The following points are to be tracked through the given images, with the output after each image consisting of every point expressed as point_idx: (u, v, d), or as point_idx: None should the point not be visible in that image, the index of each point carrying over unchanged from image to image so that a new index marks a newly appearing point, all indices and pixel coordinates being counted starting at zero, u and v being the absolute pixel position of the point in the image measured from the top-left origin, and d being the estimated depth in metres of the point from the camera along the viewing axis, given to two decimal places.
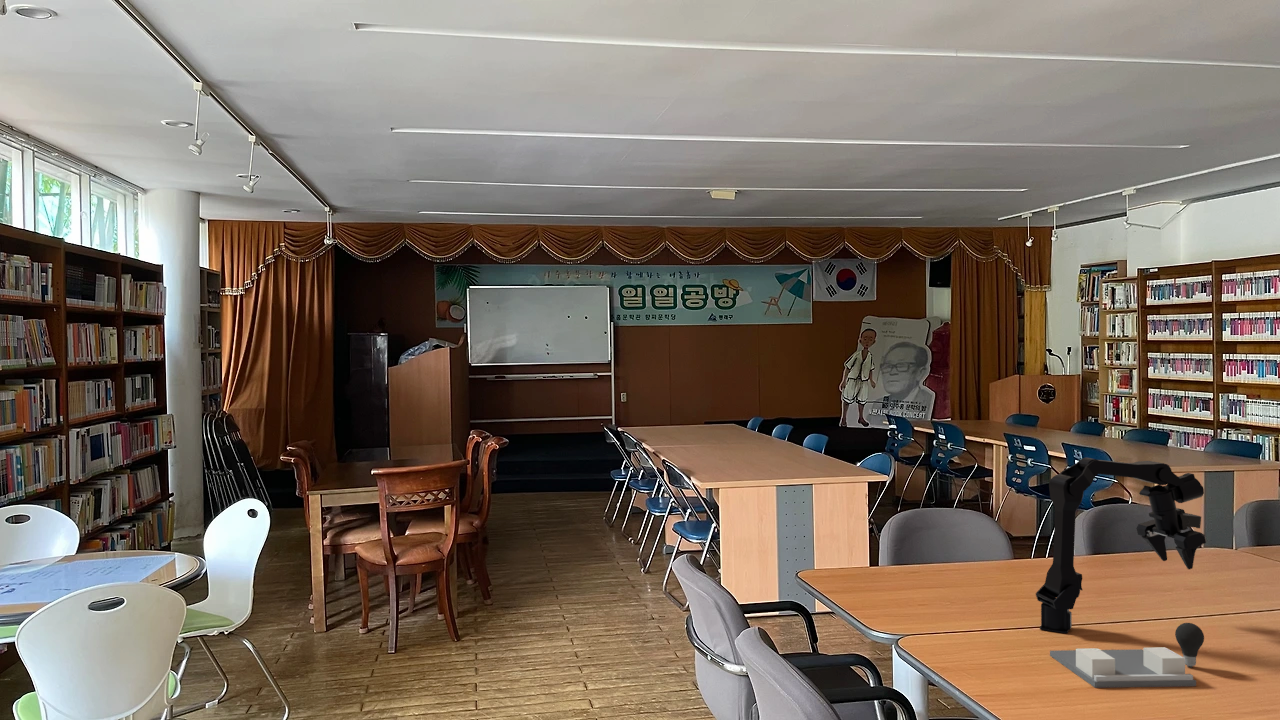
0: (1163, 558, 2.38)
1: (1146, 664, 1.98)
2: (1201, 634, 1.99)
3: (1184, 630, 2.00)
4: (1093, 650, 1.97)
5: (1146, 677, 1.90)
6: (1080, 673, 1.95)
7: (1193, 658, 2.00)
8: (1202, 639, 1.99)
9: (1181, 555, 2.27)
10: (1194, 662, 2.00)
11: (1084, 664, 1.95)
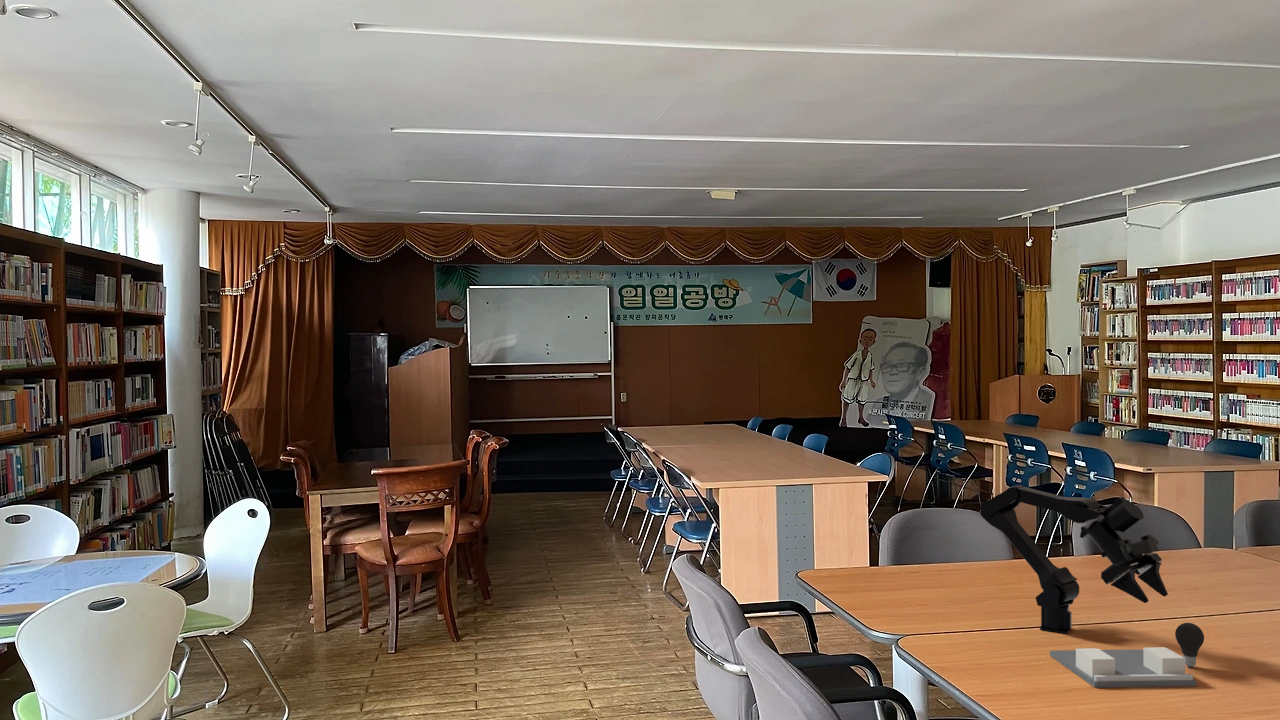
0: (1162, 593, 2.12)
1: (1146, 664, 1.98)
2: (1201, 634, 1.99)
3: (1184, 630, 2.00)
4: (1093, 650, 1.97)
5: (1146, 677, 1.90)
6: (1080, 673, 1.95)
7: (1193, 658, 2.00)
8: (1202, 639, 1.99)
9: None
10: (1194, 662, 2.00)
11: (1084, 664, 1.95)
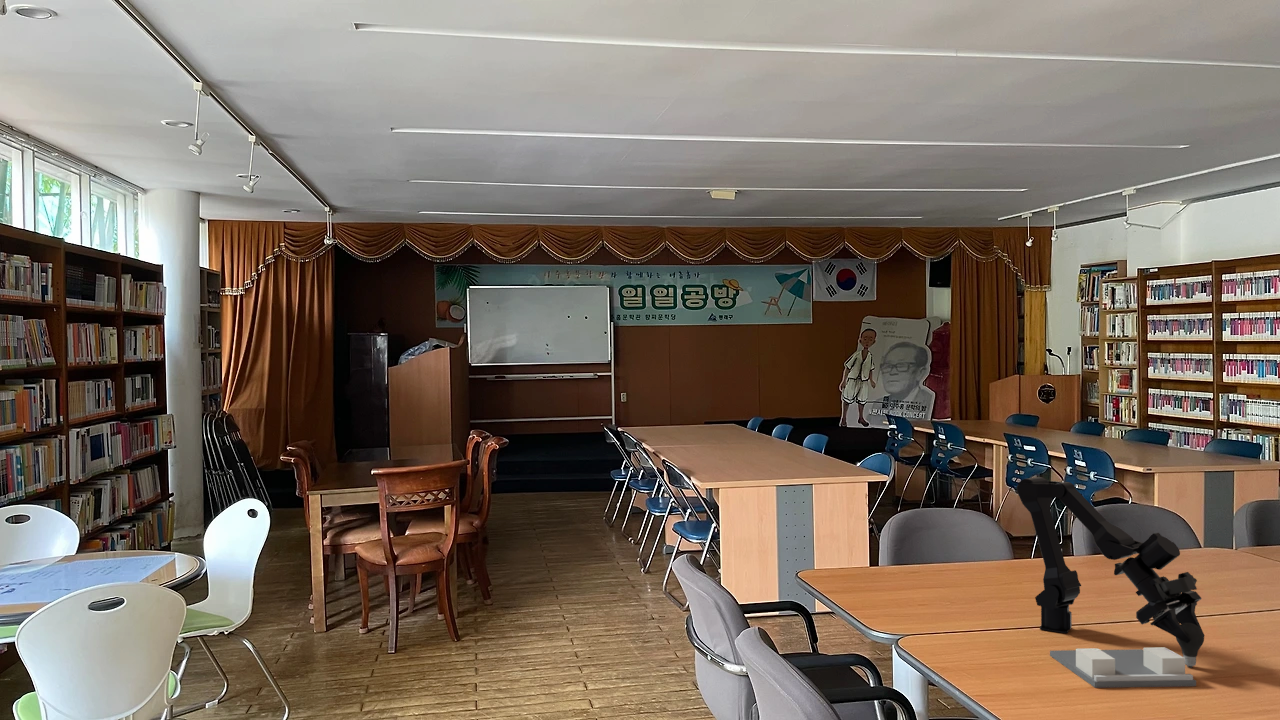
0: None
1: (1146, 664, 1.98)
2: (1201, 634, 1.99)
3: None
4: (1093, 650, 1.97)
5: (1146, 677, 1.90)
6: (1080, 673, 1.95)
7: (1193, 658, 2.00)
8: (1202, 639, 1.99)
9: None
10: (1194, 662, 2.00)
11: (1084, 664, 1.95)
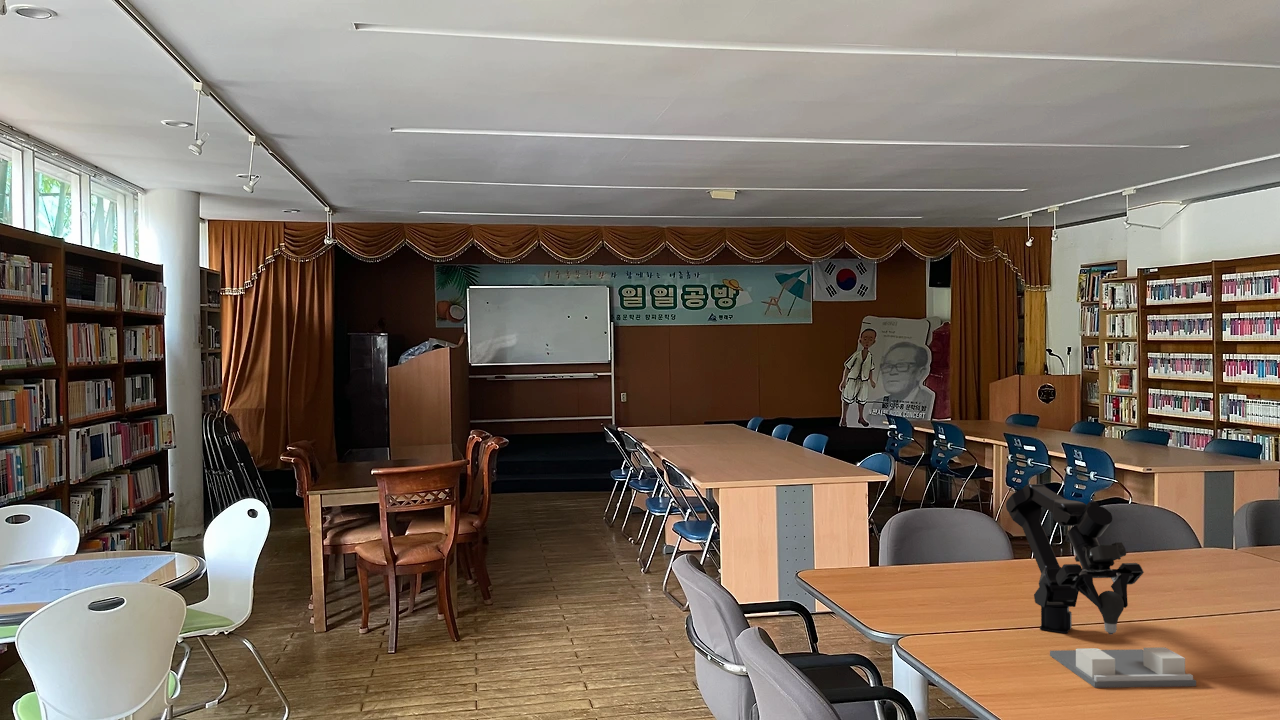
0: None
1: (1146, 664, 1.98)
2: (1116, 602, 2.02)
3: (1100, 597, 2.05)
4: (1093, 650, 1.97)
5: (1146, 677, 1.90)
6: (1080, 673, 1.95)
7: (1111, 625, 2.04)
8: (1117, 607, 2.02)
9: None
10: (1112, 629, 2.04)
11: (1084, 664, 1.95)
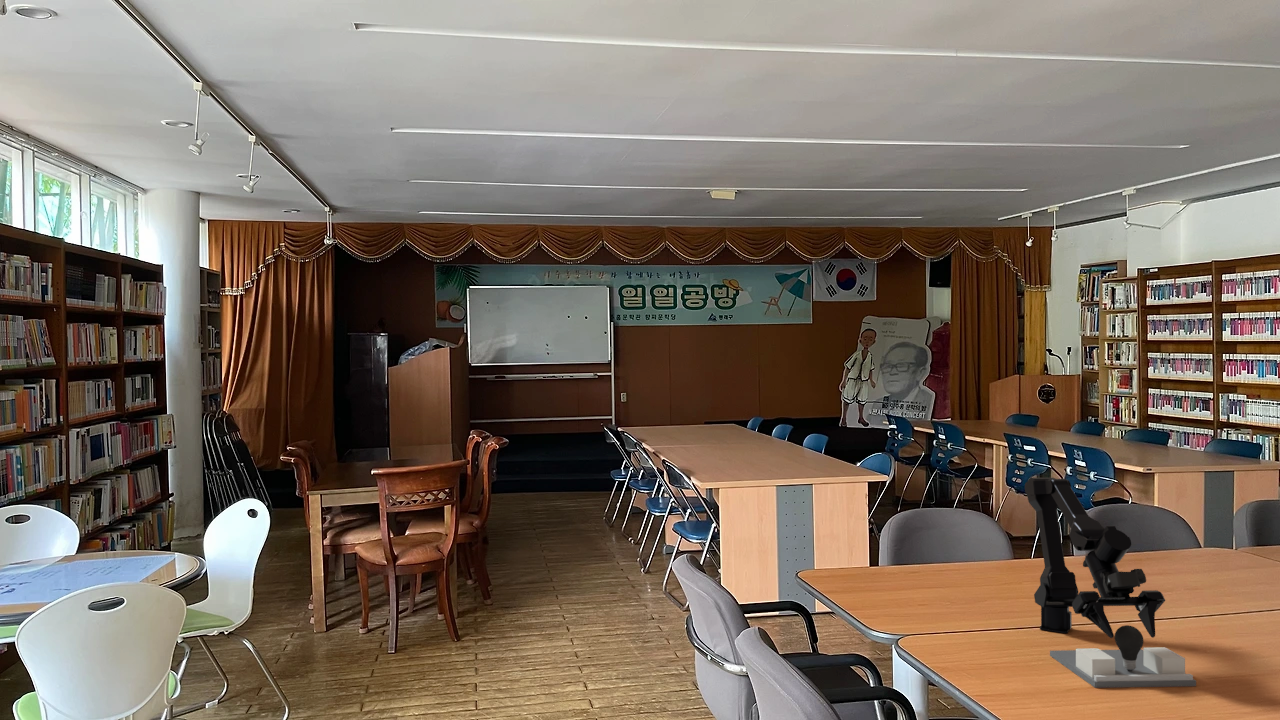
0: (1150, 634, 1.95)
1: (1146, 664, 1.98)
2: (1135, 638, 1.93)
3: (1118, 632, 1.96)
4: (1093, 650, 1.97)
5: (1146, 677, 1.90)
6: (1080, 673, 1.95)
7: (1129, 662, 1.95)
8: (1136, 643, 1.93)
9: None
10: (1131, 666, 1.95)
11: (1084, 664, 1.95)
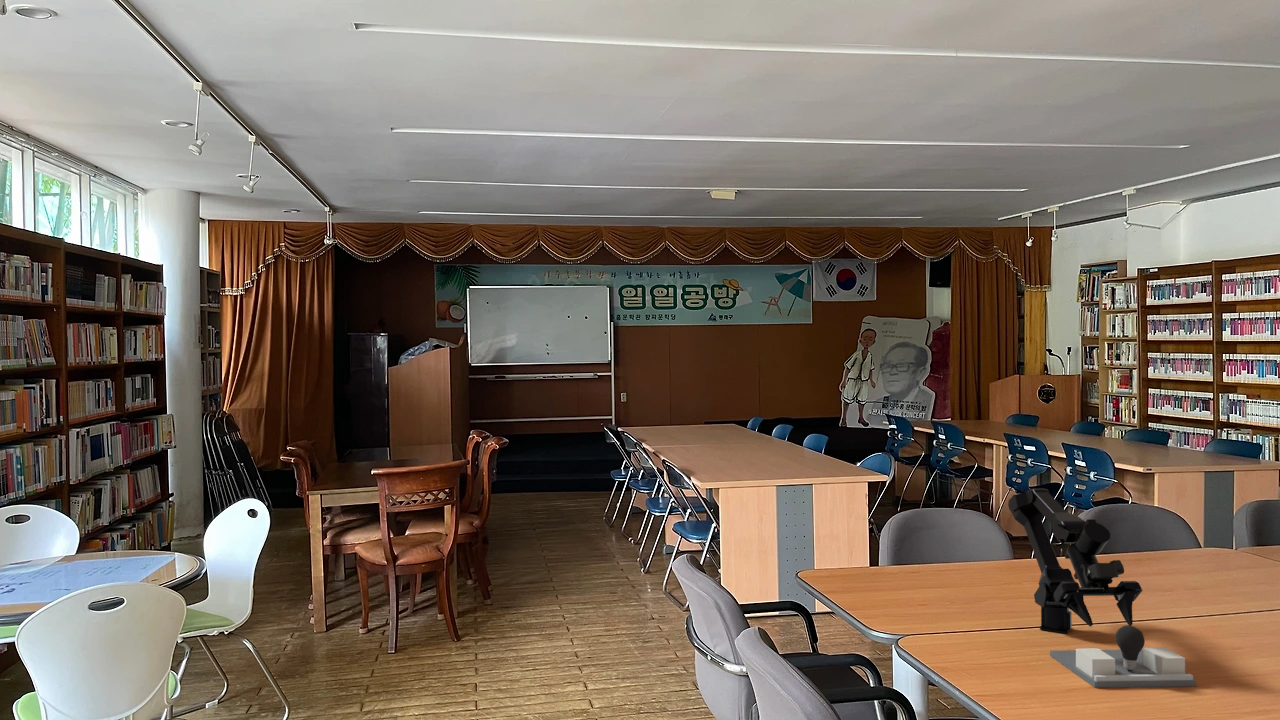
0: (1128, 622, 2.04)
1: (1146, 664, 1.98)
2: (1136, 638, 1.93)
3: (1119, 631, 1.96)
4: (1093, 650, 1.97)
5: (1146, 677, 1.90)
6: (1080, 673, 1.95)
7: (1130, 661, 1.95)
8: (1137, 643, 1.93)
9: None
10: (1131, 666, 1.95)
11: (1084, 664, 1.95)
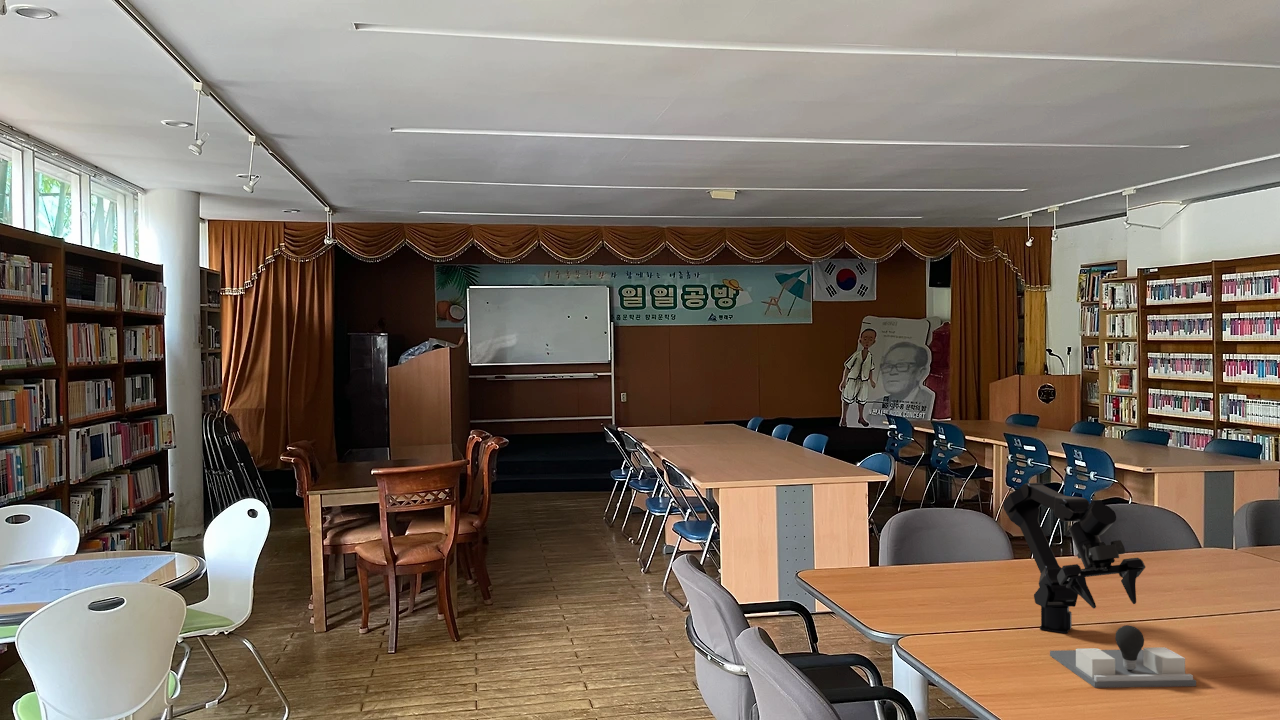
0: (1132, 601, 2.06)
1: (1146, 664, 1.98)
2: (1136, 638, 1.93)
3: (1119, 632, 1.96)
4: (1093, 650, 1.97)
5: (1146, 677, 1.90)
6: (1080, 673, 1.95)
7: (1130, 662, 1.95)
8: (1136, 643, 1.93)
9: None
10: (1131, 666, 1.95)
11: (1084, 664, 1.95)
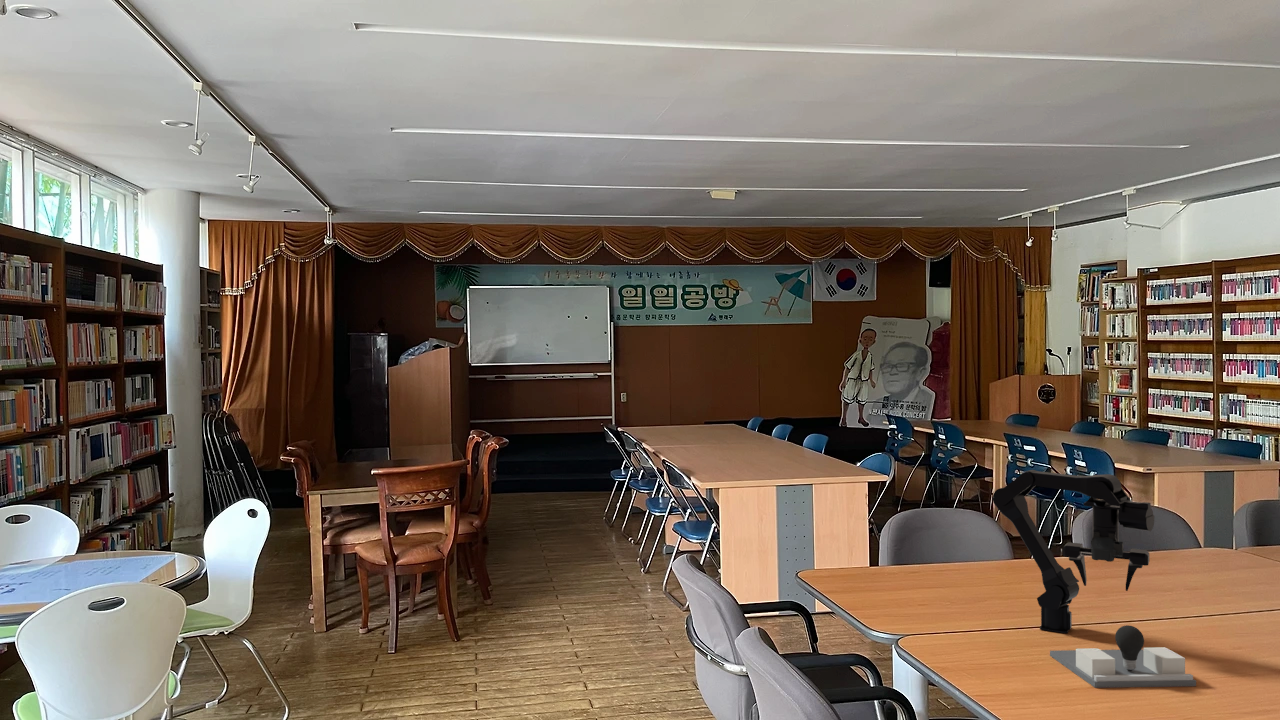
0: None
1: (1146, 664, 1.98)
2: (1136, 638, 1.93)
3: (1119, 632, 1.96)
4: (1093, 650, 1.97)
5: (1146, 677, 1.90)
6: (1080, 673, 1.95)
7: (1130, 662, 1.95)
8: (1136, 643, 1.93)
9: None
10: (1131, 666, 1.95)
11: (1084, 664, 1.95)
